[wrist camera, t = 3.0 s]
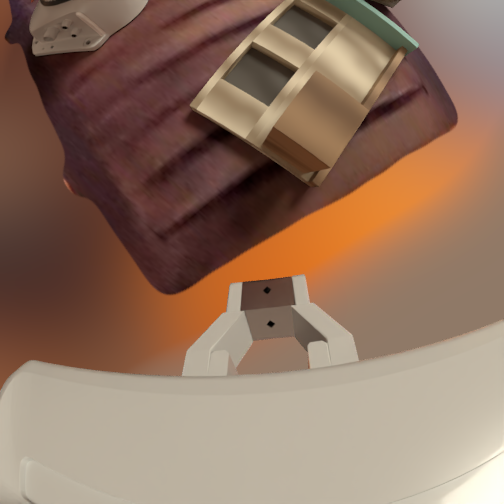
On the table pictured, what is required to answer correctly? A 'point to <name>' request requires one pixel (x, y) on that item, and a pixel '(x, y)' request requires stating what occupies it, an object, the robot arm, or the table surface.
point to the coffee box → (387, 2)
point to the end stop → (377, 23)
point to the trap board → (294, 71)
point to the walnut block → (316, 125)
